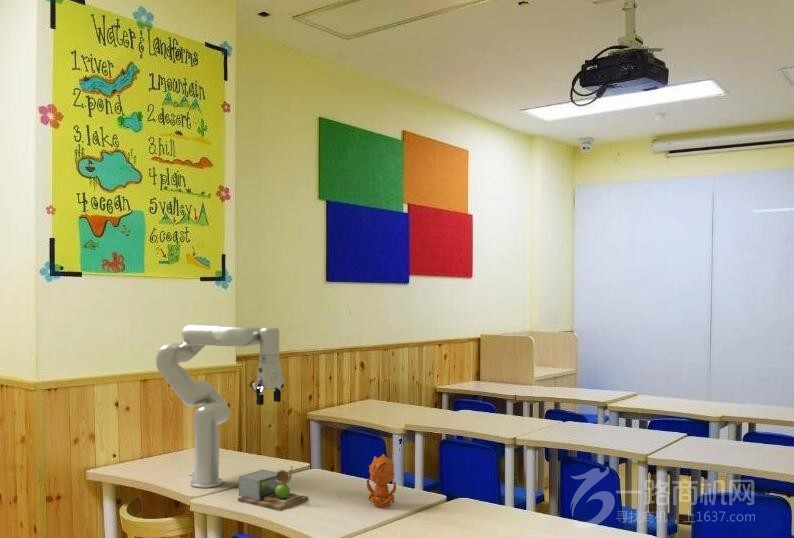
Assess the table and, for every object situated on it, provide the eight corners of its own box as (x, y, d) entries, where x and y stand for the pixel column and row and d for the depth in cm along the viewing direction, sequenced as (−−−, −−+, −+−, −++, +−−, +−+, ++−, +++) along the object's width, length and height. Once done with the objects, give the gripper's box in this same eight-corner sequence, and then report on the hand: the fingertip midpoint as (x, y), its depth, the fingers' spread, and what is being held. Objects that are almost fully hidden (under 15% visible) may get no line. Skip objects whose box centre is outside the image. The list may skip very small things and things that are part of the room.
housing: (238, 495, 270) (238, 476, 270) (262, 487, 281) (263, 469, 281) (259, 500, 265) (259, 480, 265) (283, 492, 276) (283, 473, 276)
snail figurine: (289, 501, 264) (290, 468, 264) (272, 500, 265) (273, 467, 266) (294, 497, 269) (295, 464, 270) (277, 496, 271) (278, 463, 271)
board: (237, 501, 268) (237, 494, 268) (267, 491, 282) (267, 484, 282) (279, 510, 258) (279, 503, 258) (308, 499, 271) (308, 493, 271)
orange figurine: (401, 502, 269) (401, 453, 269) (391, 510, 259) (391, 459, 259) (372, 499, 272) (373, 450, 273) (361, 507, 262) (362, 456, 263)
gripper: (261, 361, 277) (260, 406, 276) (291, 357, 291) (290, 401, 291) (246, 360, 281) (245, 405, 280) (277, 356, 295) (276, 399, 295)
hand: (268, 403), depth 285 cm, fingers open, 9 cm apart
